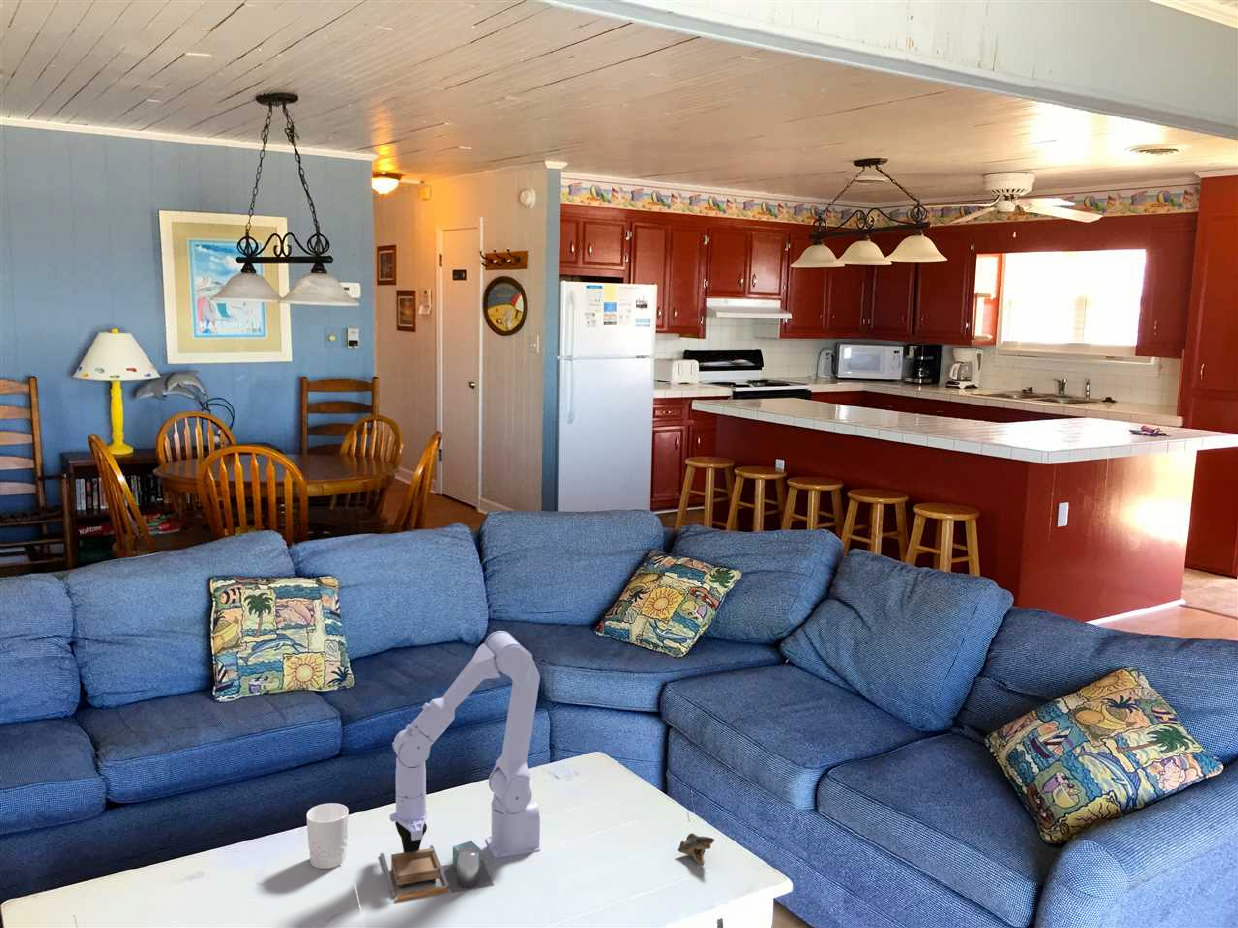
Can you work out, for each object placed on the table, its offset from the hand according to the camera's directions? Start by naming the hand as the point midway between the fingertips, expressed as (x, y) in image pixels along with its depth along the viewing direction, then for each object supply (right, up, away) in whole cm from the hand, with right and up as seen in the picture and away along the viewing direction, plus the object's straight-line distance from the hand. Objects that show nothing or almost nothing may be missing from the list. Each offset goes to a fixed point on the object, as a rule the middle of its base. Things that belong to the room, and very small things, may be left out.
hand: (411, 857), depth 197 cm
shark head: (+56, -3, +5) cm, 57 cm away
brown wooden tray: (+2, -2, -5) cm, 5 cm away
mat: (+12, -2, -3) cm, 12 cm away
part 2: (+12, -2, -6) cm, 14 cm away
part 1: (+11, -2, 0) cm, 11 cm away
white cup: (-17, -1, +1) cm, 17 cm away
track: (+1, -2, -3) cm, 3 cm away
